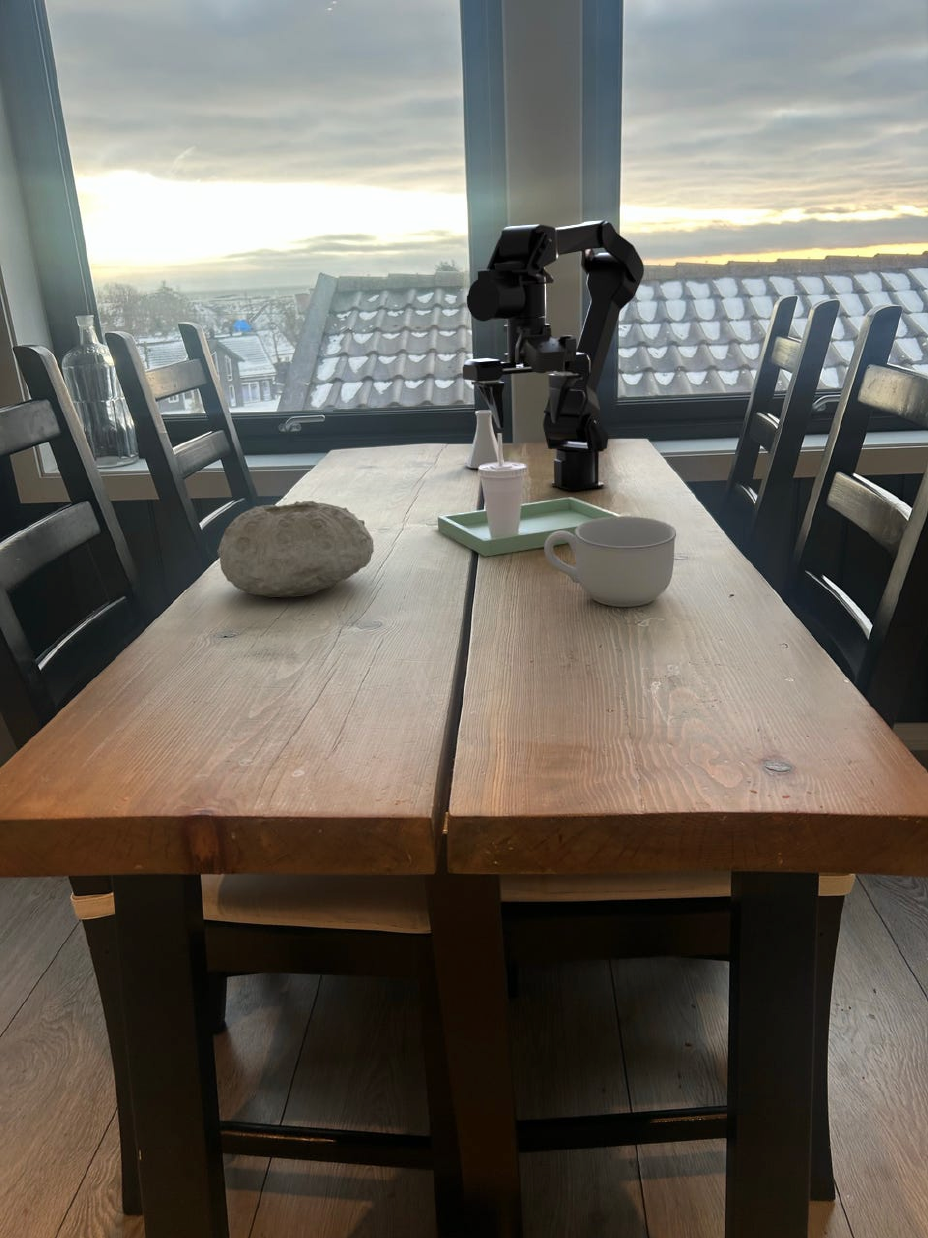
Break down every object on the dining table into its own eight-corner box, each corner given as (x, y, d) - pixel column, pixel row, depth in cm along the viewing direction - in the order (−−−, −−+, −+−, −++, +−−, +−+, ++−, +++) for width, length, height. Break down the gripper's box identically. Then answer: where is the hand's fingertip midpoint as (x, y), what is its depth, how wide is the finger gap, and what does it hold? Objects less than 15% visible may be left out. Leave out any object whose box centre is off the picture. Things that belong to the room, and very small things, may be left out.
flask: (506, 461, 187) (505, 407, 184) (504, 469, 181) (502, 413, 177) (468, 462, 188) (466, 409, 185) (464, 470, 182) (462, 414, 178)
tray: (571, 510, 149) (571, 496, 148) (629, 533, 135) (629, 518, 135) (438, 530, 141) (437, 516, 140) (484, 556, 127) (484, 540, 127)
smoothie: (473, 542, 132) (469, 436, 128) (490, 530, 138) (487, 428, 133) (519, 545, 130) (516, 437, 125) (534, 533, 136) (532, 429, 131)
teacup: (680, 587, 113) (682, 517, 110) (666, 618, 103) (668, 543, 100) (560, 579, 117) (559, 512, 114) (535, 609, 107) (534, 537, 105)
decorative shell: (259, 564, 128) (251, 487, 125) (393, 567, 125) (388, 488, 121) (197, 610, 112) (185, 522, 109) (348, 614, 108) (341, 524, 105)
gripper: (492, 322, 135) (495, 438, 140) (610, 315, 142) (609, 425, 147) (459, 320, 145) (463, 428, 150) (571, 313, 152) (571, 417, 157)
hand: (528, 425), depth 151 cm, fingers open, 9 cm apart
